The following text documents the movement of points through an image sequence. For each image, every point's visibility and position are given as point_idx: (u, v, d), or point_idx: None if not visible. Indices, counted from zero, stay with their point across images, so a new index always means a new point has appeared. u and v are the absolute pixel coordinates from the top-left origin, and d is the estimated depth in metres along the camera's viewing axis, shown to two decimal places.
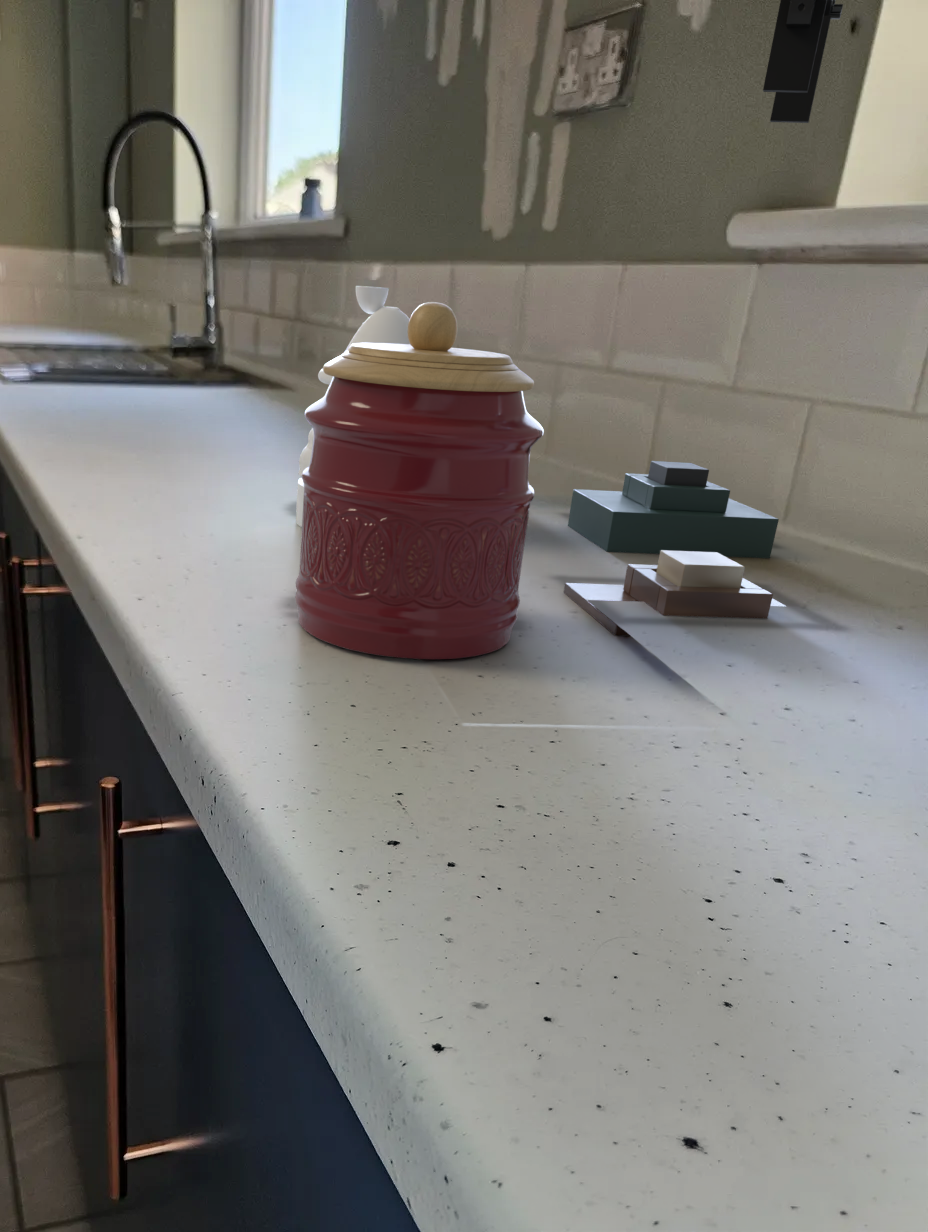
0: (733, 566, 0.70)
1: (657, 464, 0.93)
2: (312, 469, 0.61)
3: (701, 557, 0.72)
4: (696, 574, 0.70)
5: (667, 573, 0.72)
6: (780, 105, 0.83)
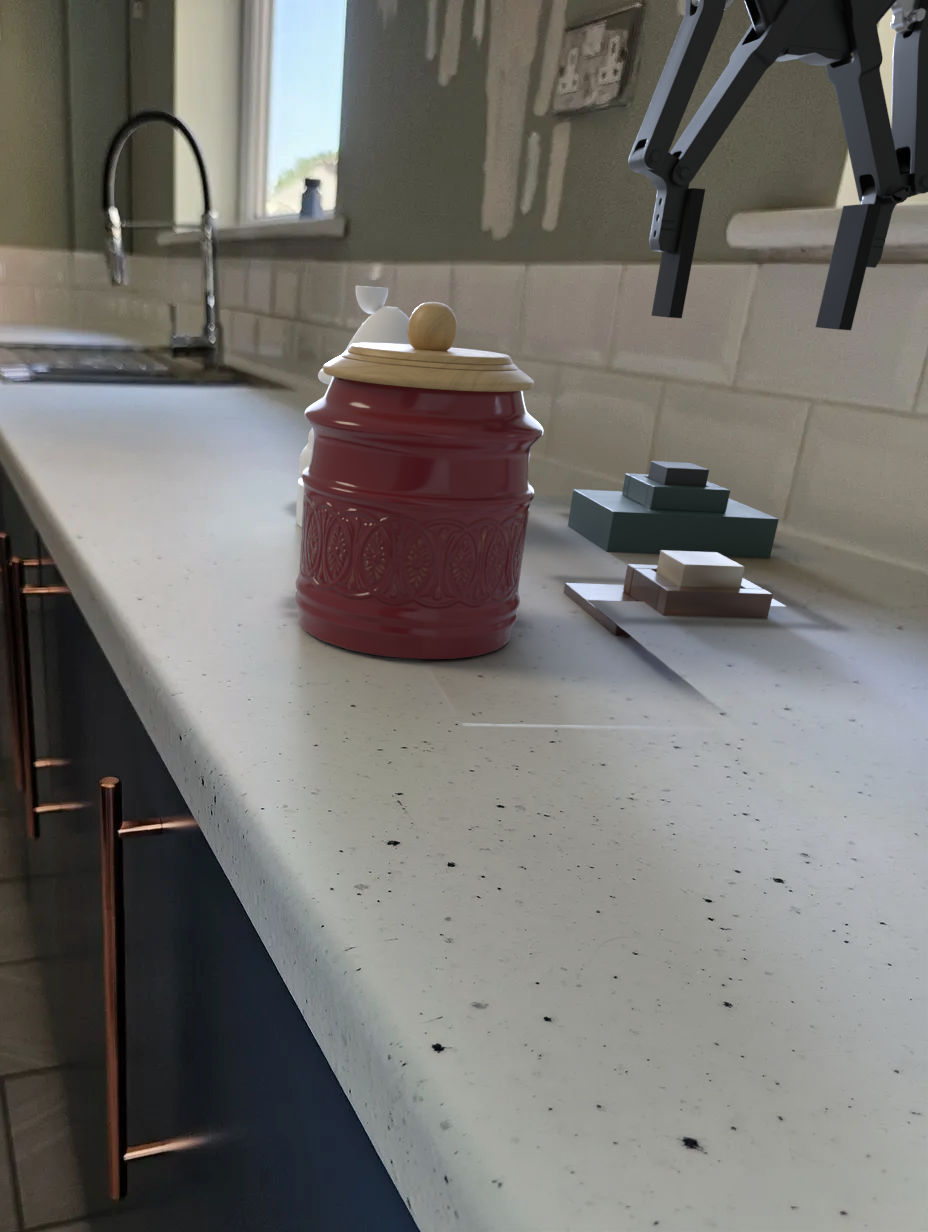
0: (733, 566, 0.70)
1: (657, 464, 0.93)
2: (312, 469, 0.61)
3: (701, 557, 0.72)
4: (696, 574, 0.70)
5: (667, 573, 0.72)
6: (823, 309, 0.67)
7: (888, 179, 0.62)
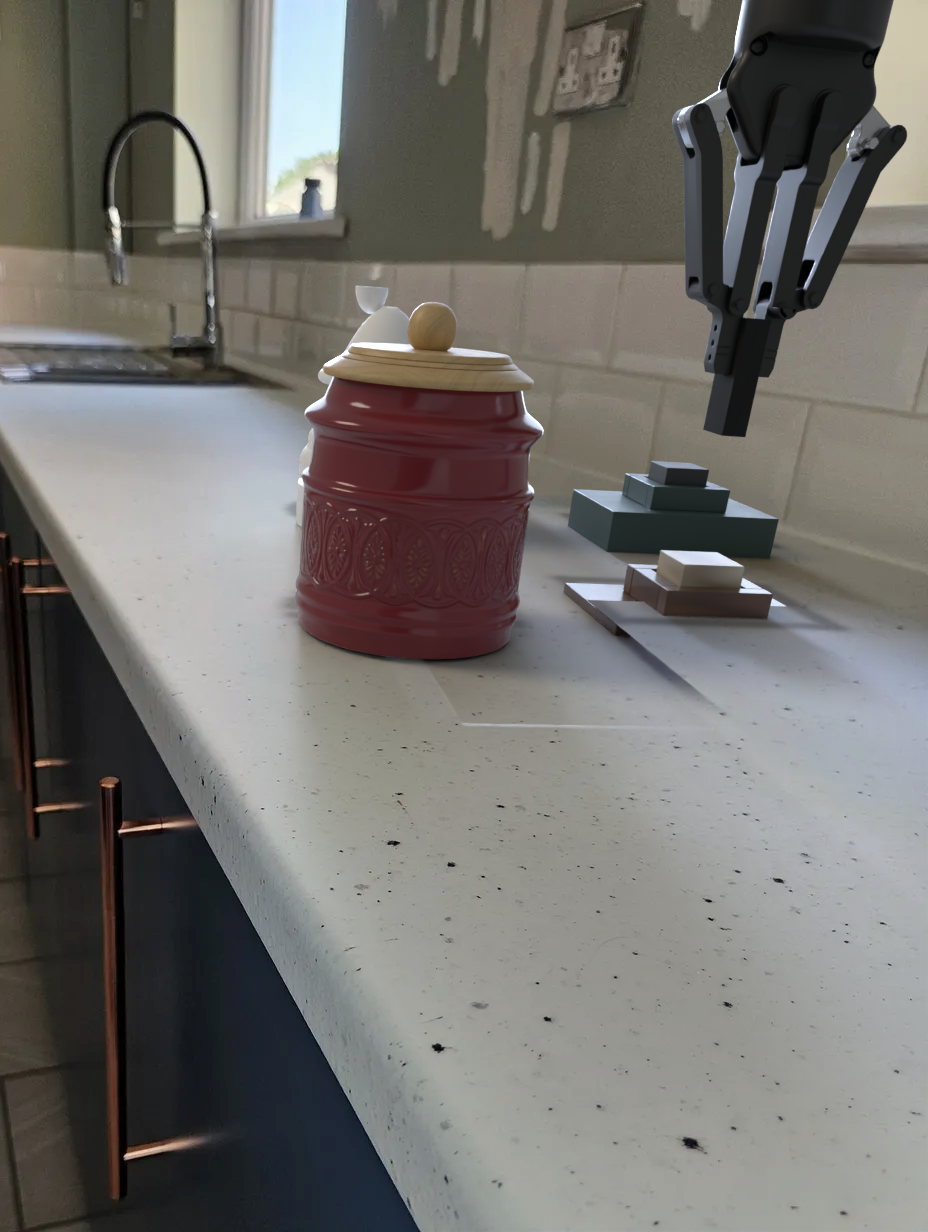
0: (733, 566, 0.70)
1: (657, 464, 0.93)
2: (312, 469, 0.61)
3: (701, 557, 0.72)
4: (696, 574, 0.70)
5: (667, 573, 0.72)
6: None
7: (783, 294, 0.64)
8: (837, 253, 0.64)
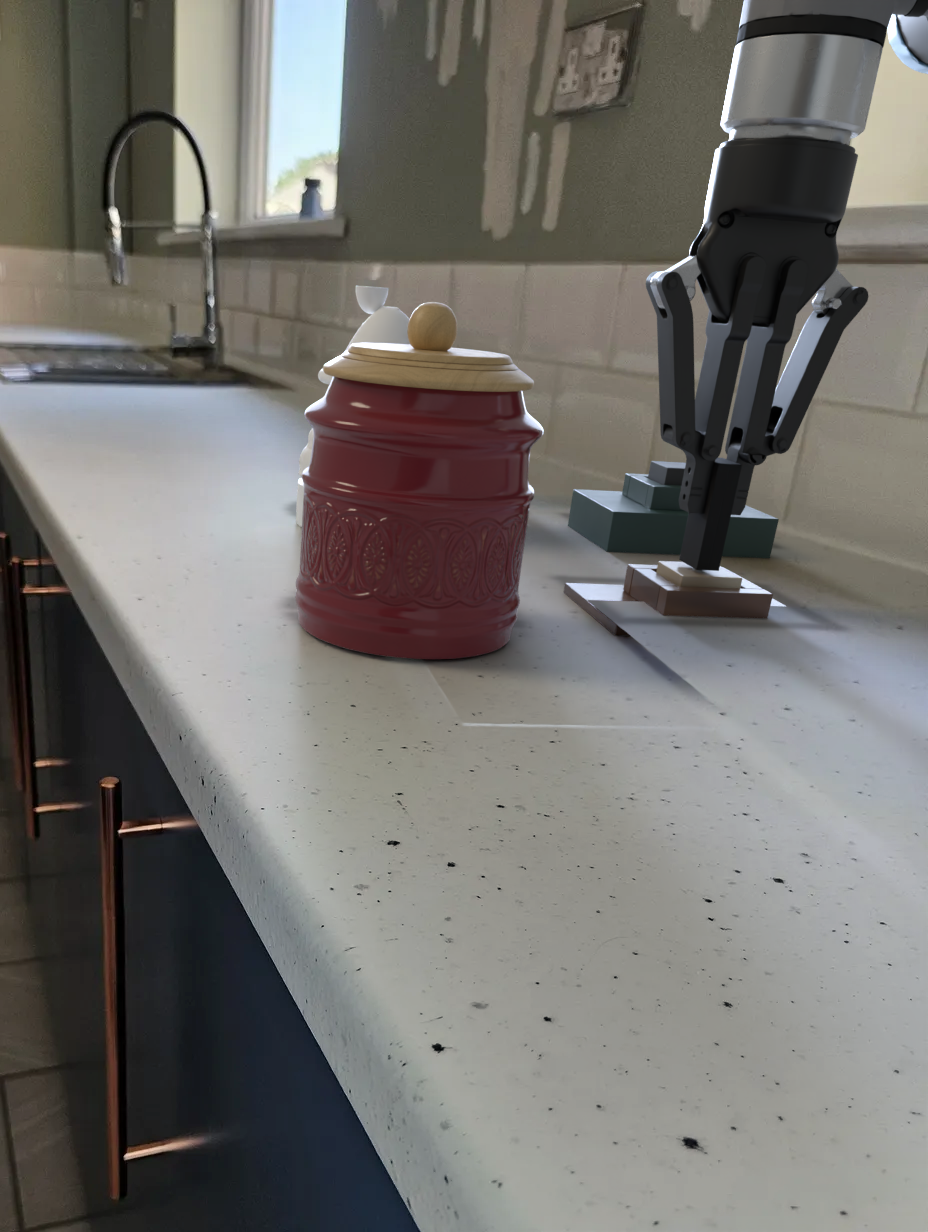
0: (731, 577, 0.70)
1: (657, 464, 0.93)
2: (312, 469, 0.61)
3: None
4: (694, 585, 0.70)
5: None
6: None
7: (753, 441, 0.68)
8: (804, 403, 0.67)
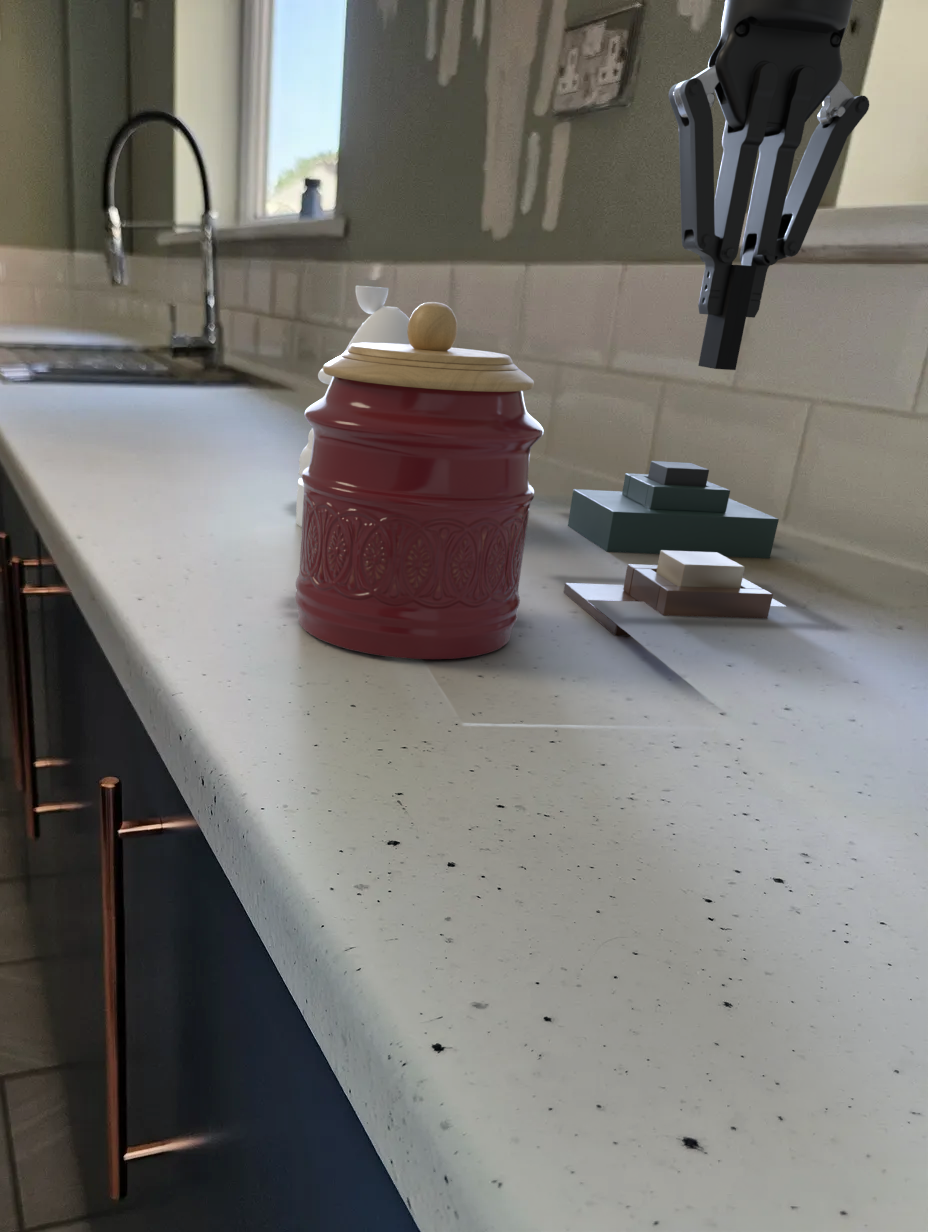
0: (733, 566, 0.70)
1: (657, 464, 0.93)
2: (312, 469, 0.61)
3: (701, 557, 0.72)
4: (696, 574, 0.70)
5: (667, 573, 0.72)
6: None
7: (766, 243, 0.75)
8: (812, 207, 0.74)
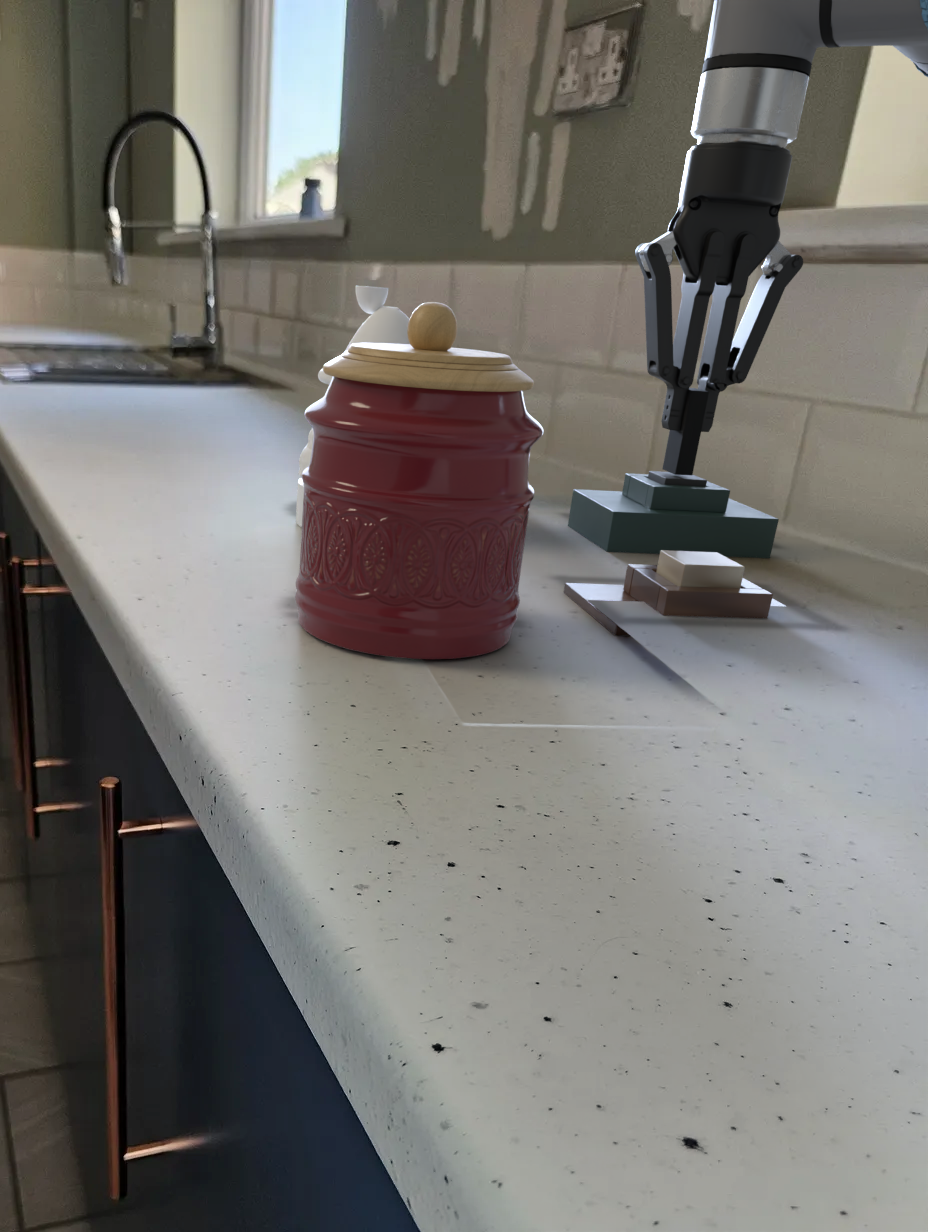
0: (733, 566, 0.70)
1: (655, 474, 0.93)
2: (312, 469, 0.61)
3: (701, 557, 0.72)
4: (696, 574, 0.70)
5: (667, 573, 0.72)
6: None
7: (717, 373, 0.89)
8: (755, 344, 0.88)
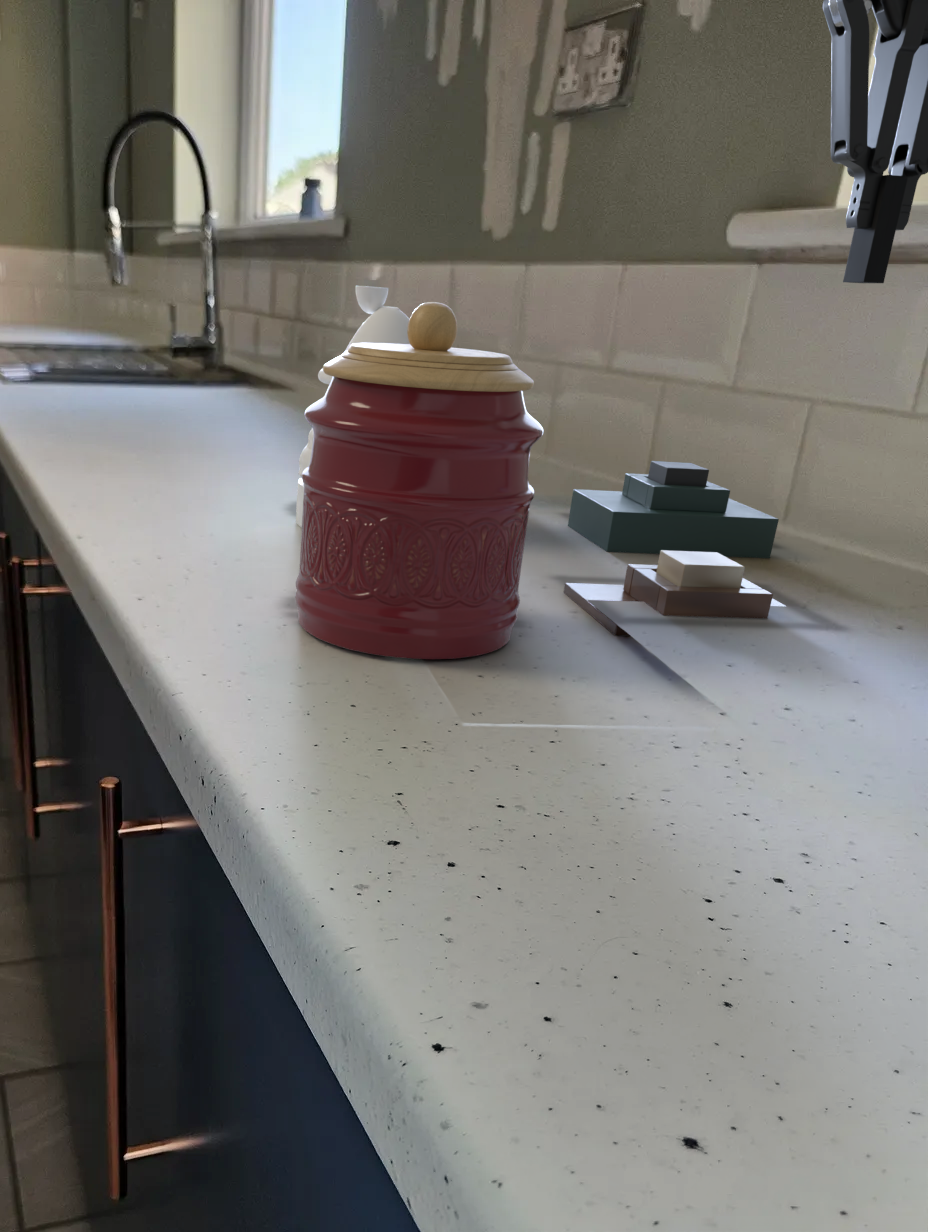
0: (733, 566, 0.70)
1: (657, 464, 0.93)
2: (312, 469, 0.61)
3: (701, 557, 0.72)
4: (696, 574, 0.70)
5: (667, 573, 0.72)
6: None
7: (918, 153, 0.75)
8: None
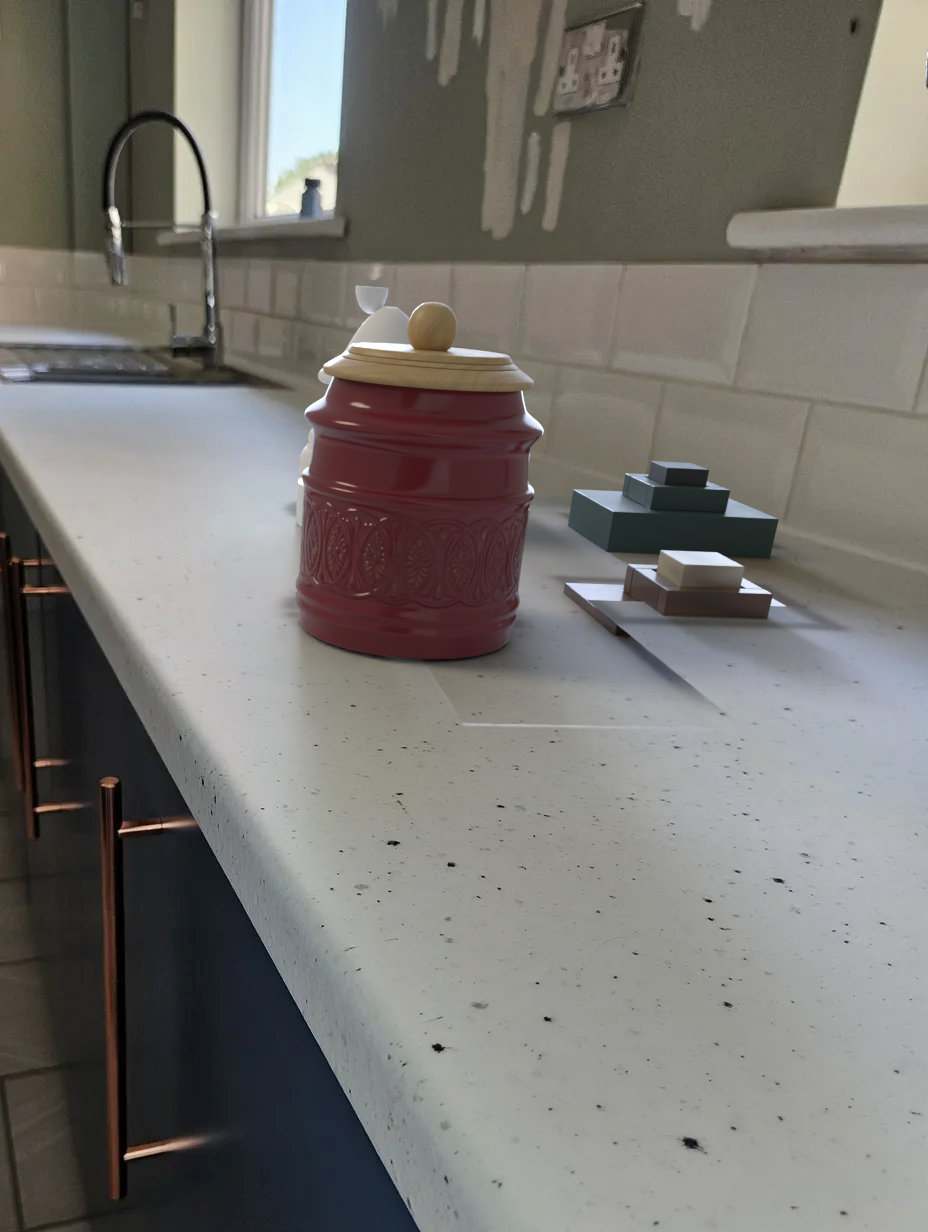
0: (733, 566, 0.70)
1: (657, 464, 0.93)
2: (312, 469, 0.61)
3: (701, 557, 0.72)
4: (696, 574, 0.70)
5: (667, 573, 0.72)
6: None
7: None
8: None
